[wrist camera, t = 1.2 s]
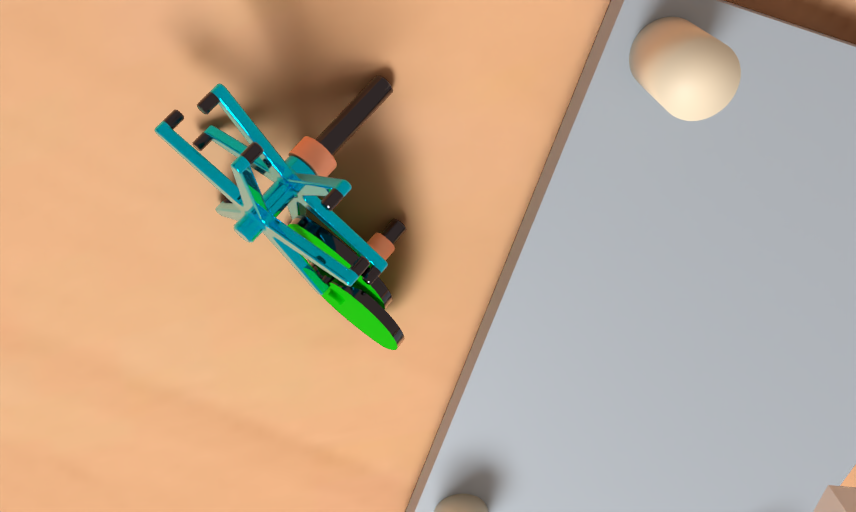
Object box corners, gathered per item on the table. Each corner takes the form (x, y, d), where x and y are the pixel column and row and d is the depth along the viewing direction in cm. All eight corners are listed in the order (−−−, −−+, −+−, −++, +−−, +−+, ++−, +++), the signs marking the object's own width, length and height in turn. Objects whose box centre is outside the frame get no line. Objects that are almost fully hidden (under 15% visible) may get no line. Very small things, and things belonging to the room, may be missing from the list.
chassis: (403, 517, 36) (406, 595, 33) (624, -33, 25) (667, -9, 22) (747, 577, 40) (785, 654, 36) (1074, 117, 29) (1177, 160, 25)
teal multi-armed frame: (101, 116, 24) (227, 176, 19) (255, -27, 26) (408, -9, 21) (303, 328, 33) (431, 411, 27) (409, 206, 35) (548, 262, 29)
